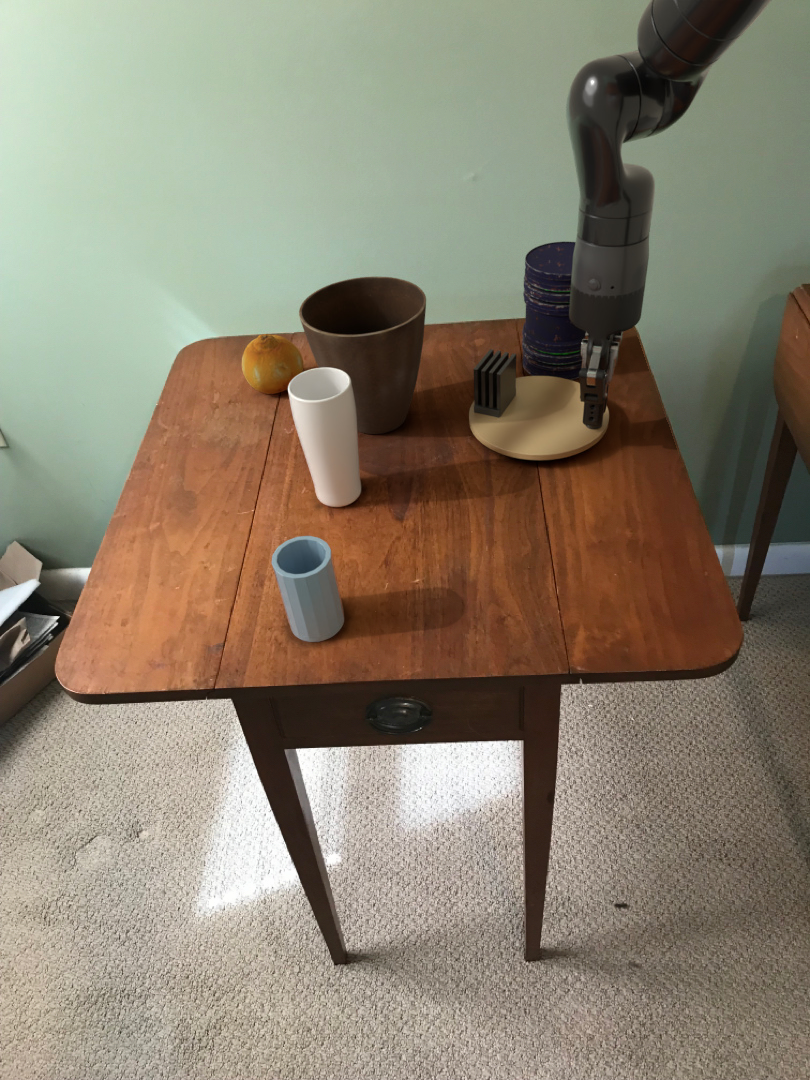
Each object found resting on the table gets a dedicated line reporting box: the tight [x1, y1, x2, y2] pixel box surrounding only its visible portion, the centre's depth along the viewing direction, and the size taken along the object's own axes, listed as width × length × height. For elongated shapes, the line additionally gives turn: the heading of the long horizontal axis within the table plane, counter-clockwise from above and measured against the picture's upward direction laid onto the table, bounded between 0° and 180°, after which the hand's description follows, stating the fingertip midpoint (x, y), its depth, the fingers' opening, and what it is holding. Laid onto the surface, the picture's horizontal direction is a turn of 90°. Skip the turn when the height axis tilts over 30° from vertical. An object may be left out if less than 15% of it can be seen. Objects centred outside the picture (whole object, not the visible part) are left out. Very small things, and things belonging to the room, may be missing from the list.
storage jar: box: [521, 241, 586, 381], centre depth 101 cm, size 10×10×15 cm
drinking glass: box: [287, 367, 362, 508], centre depth 84 cm, size 7×7×15 cm
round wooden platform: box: [468, 348, 610, 460], centre depth 93 cm, size 17×17×7 cm
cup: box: [271, 535, 345, 643], centre depth 73 cm, size 5×5×9 cm
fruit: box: [241, 333, 304, 395], centre depth 106 cm, size 8×8×8 cm
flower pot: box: [298, 275, 427, 435], centre depth 95 cm, size 15×15×16 cm
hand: (594, 417), depth 91 cm, fingers closed on round wooden platform, 2 cm apart
